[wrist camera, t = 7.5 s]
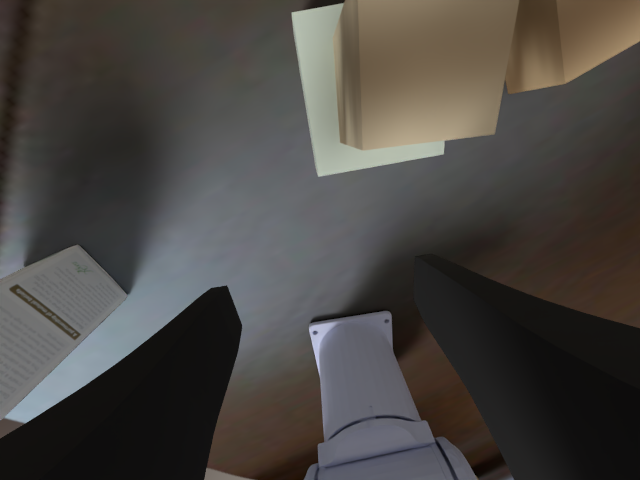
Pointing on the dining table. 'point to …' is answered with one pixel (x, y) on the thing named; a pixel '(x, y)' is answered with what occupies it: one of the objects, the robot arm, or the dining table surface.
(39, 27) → the dining table surface
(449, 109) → the maple block
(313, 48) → the plinth block
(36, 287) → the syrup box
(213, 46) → the dining table surface
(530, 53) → the oak block
